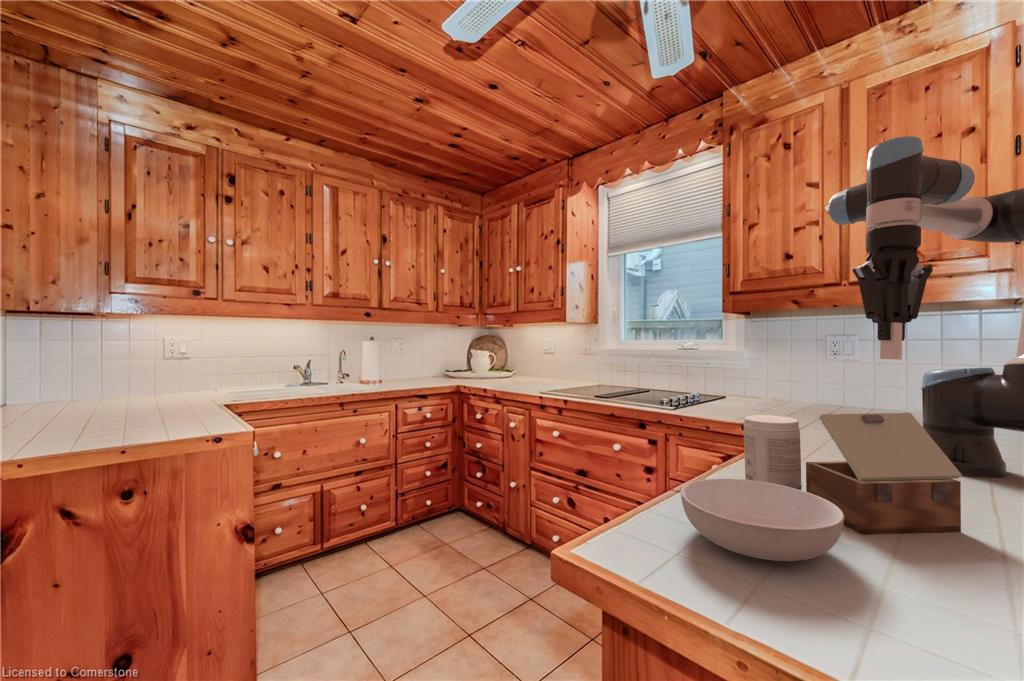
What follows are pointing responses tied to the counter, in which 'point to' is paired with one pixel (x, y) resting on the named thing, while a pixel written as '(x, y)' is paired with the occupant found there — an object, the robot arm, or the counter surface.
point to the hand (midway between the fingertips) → (890, 359)
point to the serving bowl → (762, 518)
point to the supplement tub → (772, 450)
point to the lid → (888, 447)
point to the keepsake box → (887, 500)
